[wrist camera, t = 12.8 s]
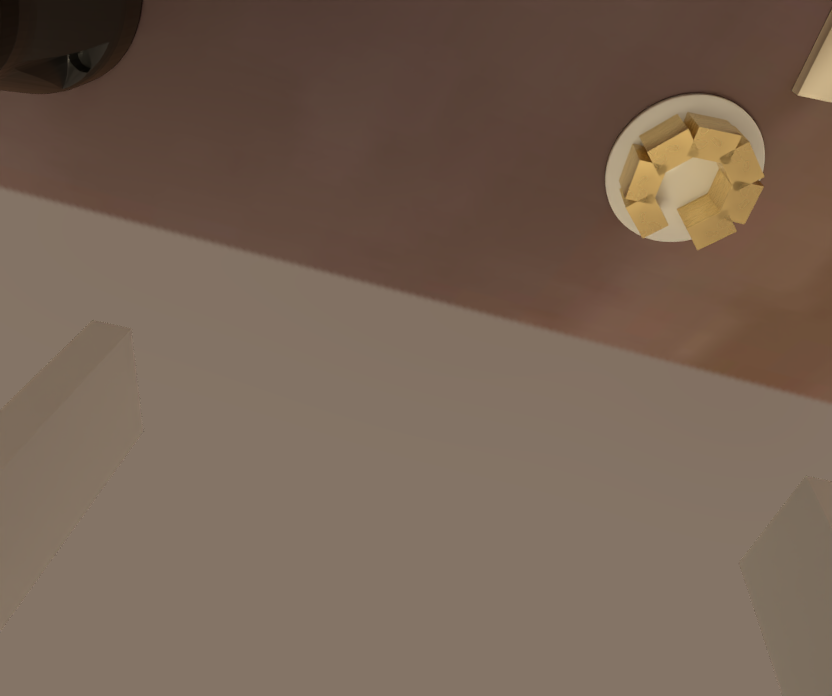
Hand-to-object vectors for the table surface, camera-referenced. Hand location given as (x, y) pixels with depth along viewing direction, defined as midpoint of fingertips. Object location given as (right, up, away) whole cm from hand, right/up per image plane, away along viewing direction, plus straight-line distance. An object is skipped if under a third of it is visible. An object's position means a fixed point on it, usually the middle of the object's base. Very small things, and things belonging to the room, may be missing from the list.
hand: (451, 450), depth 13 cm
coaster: (+15, +13, +26) cm, 33 cm away
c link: (+15, +13, +26) cm, 33 cm away
